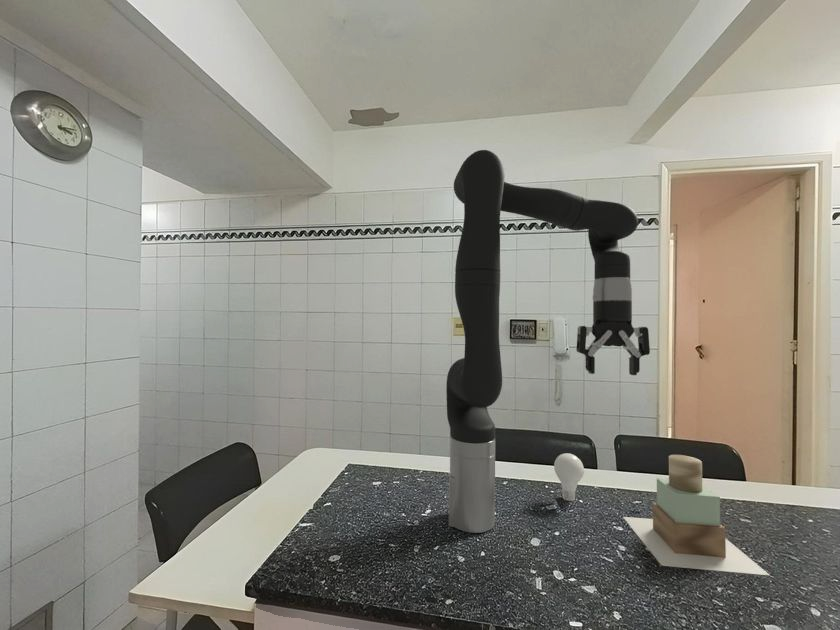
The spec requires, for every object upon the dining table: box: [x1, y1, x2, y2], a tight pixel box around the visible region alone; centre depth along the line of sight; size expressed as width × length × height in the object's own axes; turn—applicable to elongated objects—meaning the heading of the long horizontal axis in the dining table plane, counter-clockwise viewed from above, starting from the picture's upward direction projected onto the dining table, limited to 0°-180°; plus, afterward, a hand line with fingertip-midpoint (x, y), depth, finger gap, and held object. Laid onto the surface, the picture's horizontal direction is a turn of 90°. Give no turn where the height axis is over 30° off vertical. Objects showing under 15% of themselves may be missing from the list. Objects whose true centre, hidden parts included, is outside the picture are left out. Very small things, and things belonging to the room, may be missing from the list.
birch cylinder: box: [668, 454, 703, 493], centre depth 69 cm, size 5×5×5 cm
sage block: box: [656, 477, 721, 526], centre depth 69 cm, size 7×7×5 cm
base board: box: [622, 516, 771, 576], centre depth 69 cm, size 16×16×1 cm
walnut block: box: [652, 502, 726, 558], centre depth 69 cm, size 8×8×5 cm
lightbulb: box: [553, 452, 585, 502], centre depth 86 cm, size 6×6×11 cm
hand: (612, 374), depth 81 cm, fingers open, 8 cm apart
